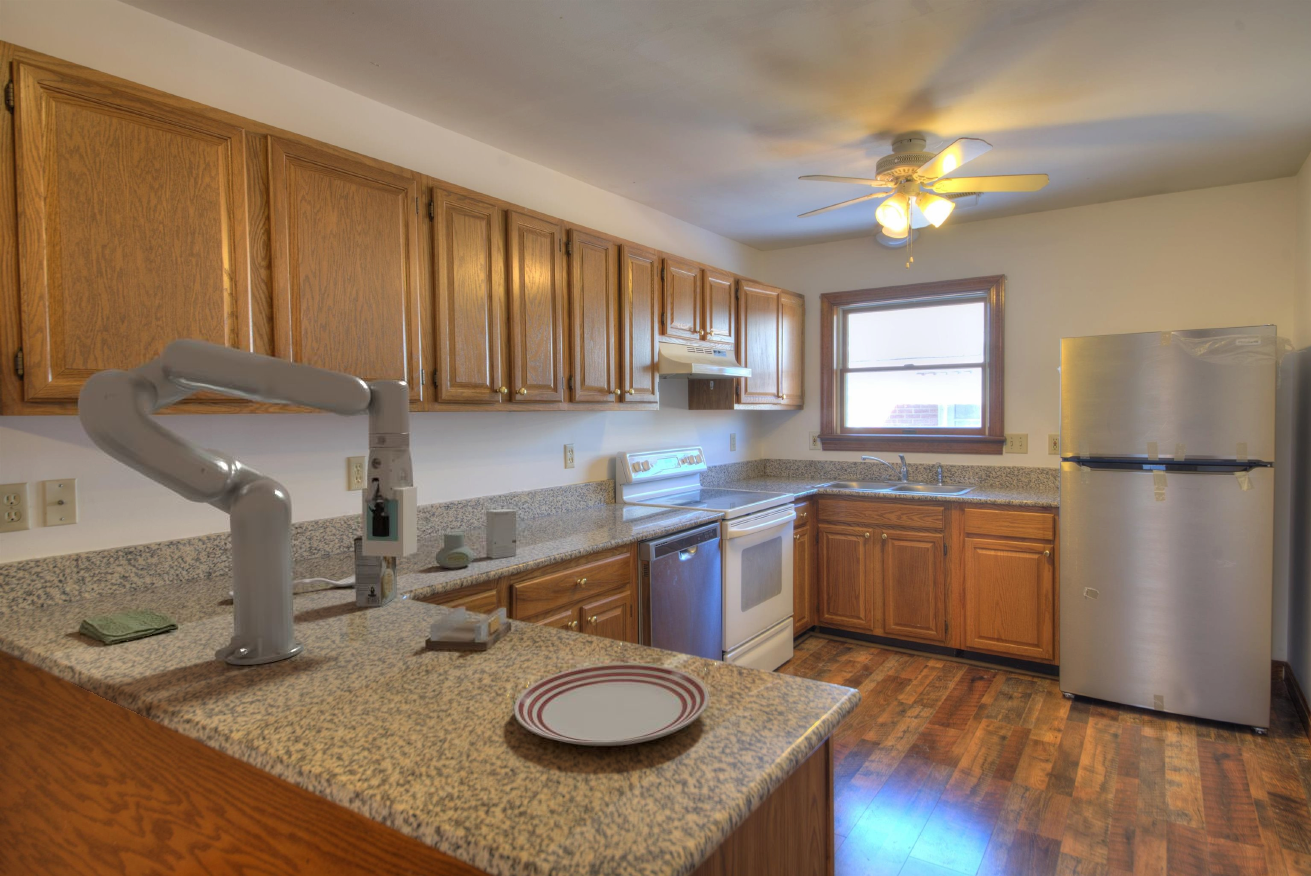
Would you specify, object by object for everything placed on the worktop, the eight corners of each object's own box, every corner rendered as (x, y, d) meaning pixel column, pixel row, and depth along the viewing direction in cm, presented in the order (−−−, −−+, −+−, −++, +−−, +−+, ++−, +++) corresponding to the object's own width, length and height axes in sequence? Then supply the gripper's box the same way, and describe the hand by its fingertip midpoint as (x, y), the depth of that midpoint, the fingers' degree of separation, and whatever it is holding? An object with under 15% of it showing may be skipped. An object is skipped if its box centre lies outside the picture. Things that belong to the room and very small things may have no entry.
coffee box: (371, 597, 169) (370, 531, 169) (397, 596, 169) (396, 531, 169) (354, 607, 160) (353, 537, 160) (382, 606, 160) (380, 537, 160)
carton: (402, 556, 134) (402, 489, 133) (361, 555, 135) (361, 488, 135) (416, 551, 139) (416, 487, 139) (377, 550, 140) (377, 486, 140)
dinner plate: (541, 783, 80) (541, 755, 80) (497, 699, 106) (496, 677, 106) (746, 738, 91) (746, 713, 91) (661, 671, 117) (661, 652, 116)
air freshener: (436, 571, 199) (436, 536, 199) (434, 565, 207) (434, 532, 207) (475, 567, 203) (475, 533, 203) (472, 562, 211) (471, 530, 211)
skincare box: (492, 559, 216) (492, 511, 216) (485, 556, 221) (484, 509, 221) (517, 556, 221) (517, 509, 221) (510, 553, 226) (509, 507, 226)
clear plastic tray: (482, 642, 128) (482, 626, 128) (430, 640, 129) (430, 624, 129) (507, 622, 141) (507, 607, 141) (460, 620, 142) (459, 606, 142)
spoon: (373, 587, 181) (373, 574, 181) (229, 607, 163) (229, 592, 162) (365, 581, 188) (365, 568, 188) (227, 599, 170) (226, 585, 170)
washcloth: (106, 649, 133) (106, 632, 133) (75, 634, 143) (74, 618, 143) (184, 632, 143) (183, 616, 143) (149, 619, 153) (149, 604, 153)
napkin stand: (486, 650, 128) (486, 642, 128) (425, 648, 130) (425, 640, 130) (511, 629, 141) (511, 622, 141) (455, 627, 142) (455, 620, 142)
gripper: (383, 443, 128) (384, 541, 128) (427, 441, 145) (427, 528, 145) (346, 443, 129) (346, 540, 129) (393, 441, 146) (394, 527, 146)
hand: (389, 533), depth 137 cm, fingers closed on carton, 5 cm apart
